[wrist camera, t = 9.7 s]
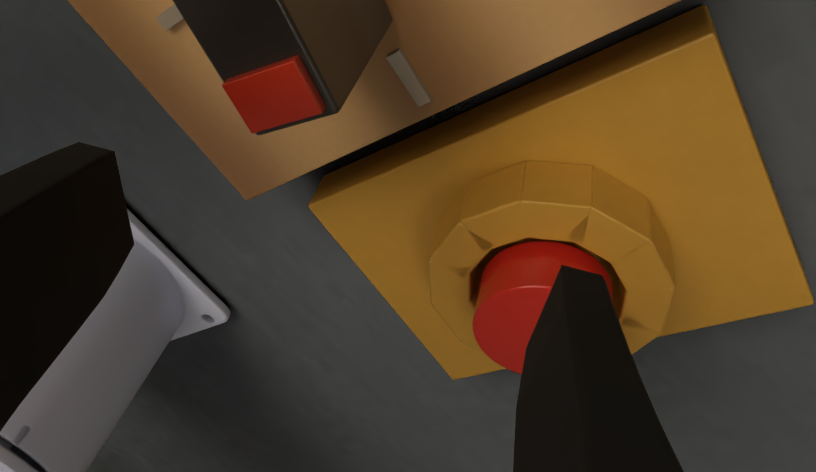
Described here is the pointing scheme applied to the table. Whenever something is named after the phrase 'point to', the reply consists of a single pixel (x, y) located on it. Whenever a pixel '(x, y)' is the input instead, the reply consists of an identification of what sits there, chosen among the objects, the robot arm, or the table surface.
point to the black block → (287, 53)
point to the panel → (376, 87)
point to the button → (521, 295)
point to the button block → (580, 196)
